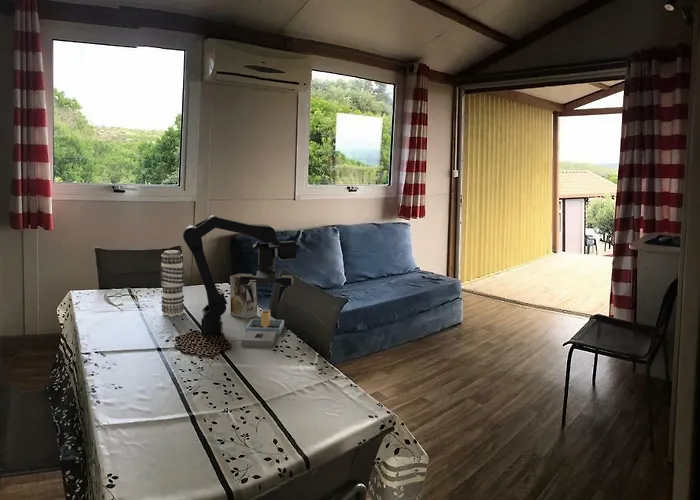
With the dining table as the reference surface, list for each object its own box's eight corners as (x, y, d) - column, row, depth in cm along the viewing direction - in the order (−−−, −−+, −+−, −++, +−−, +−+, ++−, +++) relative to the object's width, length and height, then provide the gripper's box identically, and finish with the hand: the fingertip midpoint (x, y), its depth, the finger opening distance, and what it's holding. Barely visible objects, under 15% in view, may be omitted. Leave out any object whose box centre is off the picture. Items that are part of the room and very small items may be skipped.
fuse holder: (241, 348, 177) (241, 340, 177) (247, 338, 187) (247, 330, 187) (271, 349, 177) (271, 341, 177) (276, 339, 187) (276, 331, 187)
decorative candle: (156, 315, 210) (154, 252, 206) (167, 309, 219) (166, 248, 215) (178, 317, 209) (177, 253, 205) (189, 311, 218) (188, 250, 214)
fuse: (261, 331, 193) (261, 311, 192) (263, 328, 197) (263, 308, 196) (268, 332, 193) (268, 312, 192) (270, 328, 197) (270, 308, 196)
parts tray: (245, 336, 190) (245, 327, 189) (251, 326, 201) (251, 318, 200) (279, 337, 190) (280, 329, 189) (284, 327, 201) (284, 320, 200)
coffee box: (257, 315, 215) (258, 275, 213) (246, 319, 210) (246, 278, 207) (241, 311, 220) (241, 272, 218) (229, 314, 215) (229, 275, 212)
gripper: (235, 264, 183) (235, 308, 186) (290, 265, 183) (289, 310, 186) (242, 258, 194) (242, 300, 197) (293, 259, 194) (293, 301, 197)
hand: (266, 303), depth 194 cm, fingers open, 9 cm apart
